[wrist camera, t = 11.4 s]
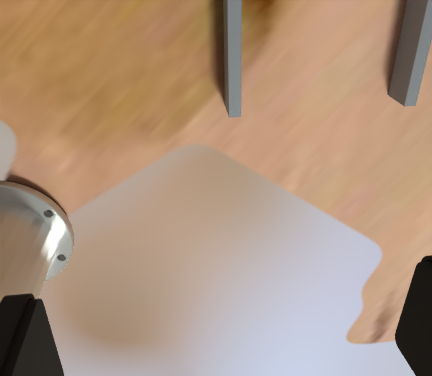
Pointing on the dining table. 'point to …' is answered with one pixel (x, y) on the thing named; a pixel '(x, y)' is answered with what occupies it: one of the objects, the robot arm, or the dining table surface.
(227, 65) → the lane box
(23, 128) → the dining table surface
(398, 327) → the robot arm
